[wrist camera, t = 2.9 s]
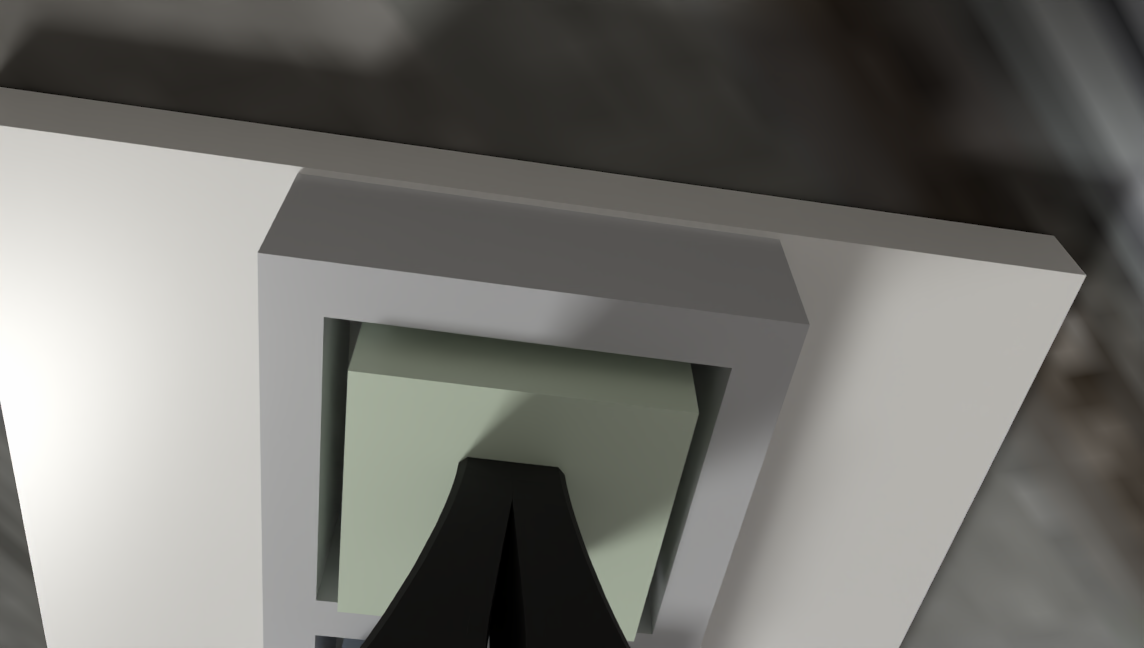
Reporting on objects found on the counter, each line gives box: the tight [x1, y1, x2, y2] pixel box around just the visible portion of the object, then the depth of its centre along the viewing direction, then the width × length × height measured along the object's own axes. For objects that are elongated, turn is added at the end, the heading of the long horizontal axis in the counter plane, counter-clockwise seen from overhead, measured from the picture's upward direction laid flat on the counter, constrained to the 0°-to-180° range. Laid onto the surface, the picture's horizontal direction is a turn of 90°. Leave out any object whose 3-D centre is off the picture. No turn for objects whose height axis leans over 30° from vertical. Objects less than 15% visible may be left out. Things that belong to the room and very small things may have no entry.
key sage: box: [337, 322, 699, 641], centre depth 15 cm, size 4×4×2 cm
